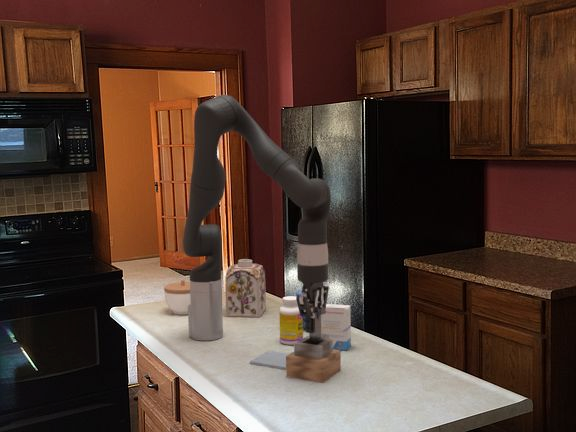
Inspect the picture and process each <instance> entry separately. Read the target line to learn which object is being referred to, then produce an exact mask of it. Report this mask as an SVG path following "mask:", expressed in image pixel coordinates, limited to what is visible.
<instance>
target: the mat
mask: <svg viewBox="0 0 576 432" xmlns="http://www.w3.org/2000/svg"><path fill="white" fill-rule="evenodd" d="M289 354H290V353H288V352H281V351H274V350H267V351H266V352H264V353H261V354H260V355H259V356H256V357H255V358H254V359H251V360H250V361H249V364H250V365H254V366H260V367H267V368H272V369H273V368H274V369H279V370H285V371H286V356H288V355H289Z"/></svg>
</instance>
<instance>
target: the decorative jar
mask: <svg viewBox="0 0 576 432" xmlns="http://www.w3.org/2000/svg"><path fill="white" fill-rule="evenodd" d="M237 261H238V262H237V263H235V264H231V265H230V266H228V267H227V270H226V273H225V276H224V277H225V279H224V280H225V314H226V315H225V316H226V317H228V318H261V316H262V315H263V314H264V312H265V311H266V309H267V296H266V294H267V292H266V290H267V289H266V273H265V272H266V270H265V268H264V267H263V265H261V264H258V263H253V260H252V259H248V258H243V259H242V258H241V259H239V260H237Z"/></svg>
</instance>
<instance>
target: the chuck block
mask: <svg viewBox="0 0 576 432" xmlns="http://www.w3.org/2000/svg"><path fill="white" fill-rule="evenodd" d="M293 347H294V349H293V350H294V351H292V352H291V353H289V355H288V356H286V370H285V371H286V373H285V374H286V377H289V378H295V379H300V380H305V381H311V382H317V383H325V382H327V381H328V380H329V379H330V378H332V377H333V376H334V375H336V374H337V373H338V372H340V371H341V370H342V369H341V368H342V366H341V363H342V360H341V358H342V357H341V356H342V355H341V353H342V352H341V351H342V350H335V349H333V347H332V339H326V338H322V342H321V343H320V344H318V345H314V344H309V335H306V336H303V339H301V340H299V341H298V342H296V343H294V345H293Z"/></svg>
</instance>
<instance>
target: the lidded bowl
mask: <svg viewBox="0 0 576 432" xmlns="http://www.w3.org/2000/svg"><path fill="white" fill-rule="evenodd" d="M163 291H164V299H165V303H166V306H167V307H168V309H169V310H170V311H171V312H173V314H174V315H179V316H182V315H183V316H185V315H187V316H188V305H190V304H191V299H190V281H185V279H181V280H180V282H179V281H178V282H172V283H168V284H166V285H164V287H163Z"/></svg>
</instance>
